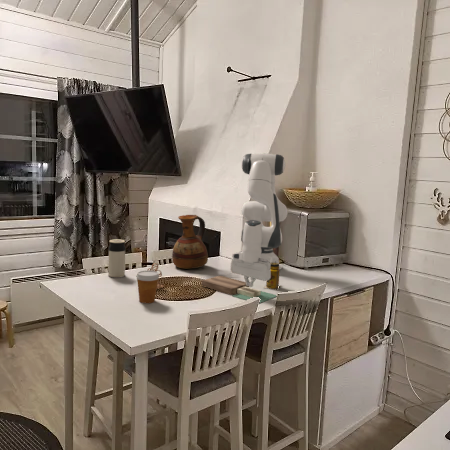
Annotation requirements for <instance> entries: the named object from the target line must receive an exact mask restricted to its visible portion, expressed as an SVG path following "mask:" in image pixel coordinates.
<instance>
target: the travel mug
mask: <svg viewBox="0 0 450 450" xmlns="http://www.w3.org/2000/svg"><path fill="white" fill-rule="evenodd" d="M108 242H109V246H108V274H107V275H108V277H110V278H113V277H114V278H124V276H125V275H126V246H125V242H126V241H125V240H124V239H120V238H119V239H116V238H115V239H110V240H109V241H108Z"/></svg>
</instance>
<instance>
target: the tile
mask: <svg viewBox="0 0 450 450" xmlns="http://www.w3.org/2000/svg"><path fill="white" fill-rule="evenodd" d="M261 291H262V290H260V289H256V288H253V287H241V288H238V289H237V293H236V294H242V295H245V296H249V297H252V298H253V297H256V296H259V295H261Z"/></svg>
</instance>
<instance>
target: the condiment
mask: <svg viewBox="0 0 450 450" xmlns="http://www.w3.org/2000/svg"><path fill="white" fill-rule="evenodd" d="M279 265H280V263H279V264H278V263H271V268H270V270H271V278H270V279H269V280H267V281H265V282H266V284H265V286H264V287H263V288H264V289H267V288H269V290H273V289H274V290H276V289H277V290H276V291H280V289H281V287H283V285H280V273H281V271H280V270H281V269H280V270H279ZM279 285H280V286H279ZM278 286H279V288H280V289H278Z"/></svg>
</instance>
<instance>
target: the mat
mask: <svg viewBox="0 0 450 450" xmlns="http://www.w3.org/2000/svg"><path fill="white" fill-rule="evenodd" d="M260 291H261V295H259V296H256V297H259V298H260V299H261V300H260V303H259V304H262V303H264V302H267V301H269V299H270V300H272V299H274V297H275V298H276V295H277V294H273V293H271V292H266V291H262V290H260ZM233 297H234V298H237V299H240V300H245V301H247V299H250V298H252V297H249V296H245V295H242V294H238V293H236V294H233V295H232V298H233ZM271 298H272V299H271ZM261 302H262V303H261Z"/></svg>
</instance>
